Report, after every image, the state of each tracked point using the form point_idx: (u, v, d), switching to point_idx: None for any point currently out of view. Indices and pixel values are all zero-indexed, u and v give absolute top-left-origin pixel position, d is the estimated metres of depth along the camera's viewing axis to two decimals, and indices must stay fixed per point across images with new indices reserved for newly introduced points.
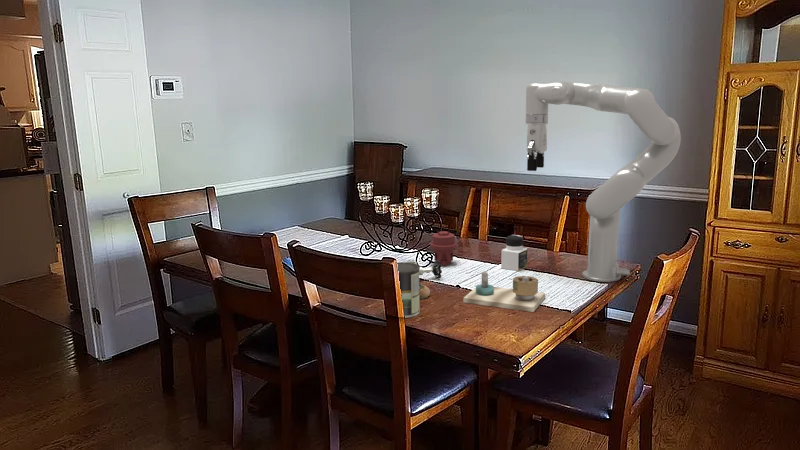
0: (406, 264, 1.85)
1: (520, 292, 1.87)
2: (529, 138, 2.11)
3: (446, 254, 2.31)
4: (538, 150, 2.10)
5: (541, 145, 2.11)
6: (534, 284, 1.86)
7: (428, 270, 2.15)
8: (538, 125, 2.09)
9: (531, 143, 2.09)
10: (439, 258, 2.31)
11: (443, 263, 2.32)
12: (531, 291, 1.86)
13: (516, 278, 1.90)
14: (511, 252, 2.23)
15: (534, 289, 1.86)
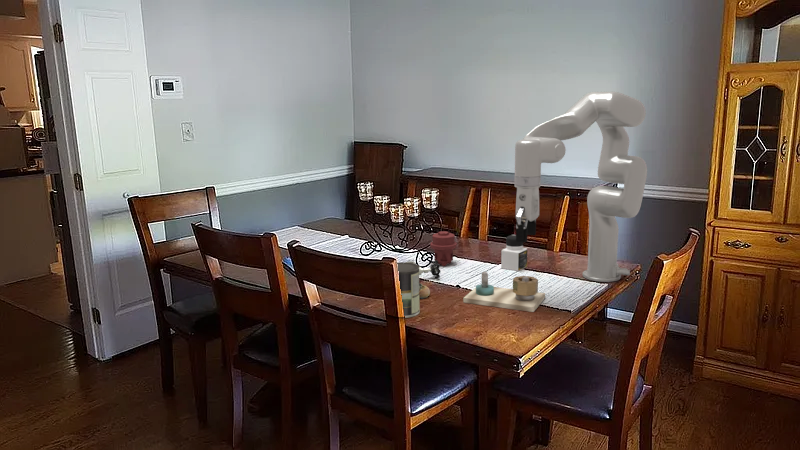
0: (406, 264, 1.85)
1: (520, 292, 1.87)
2: (518, 204, 1.80)
3: (446, 254, 2.31)
4: (529, 219, 1.79)
5: (532, 212, 1.80)
6: (534, 284, 1.86)
7: (426, 270, 2.15)
8: (529, 190, 1.78)
9: (520, 211, 1.78)
10: (439, 258, 2.31)
11: (443, 263, 2.32)
12: (531, 291, 1.86)
13: (516, 278, 1.90)
14: (511, 252, 2.23)
15: (534, 289, 1.86)
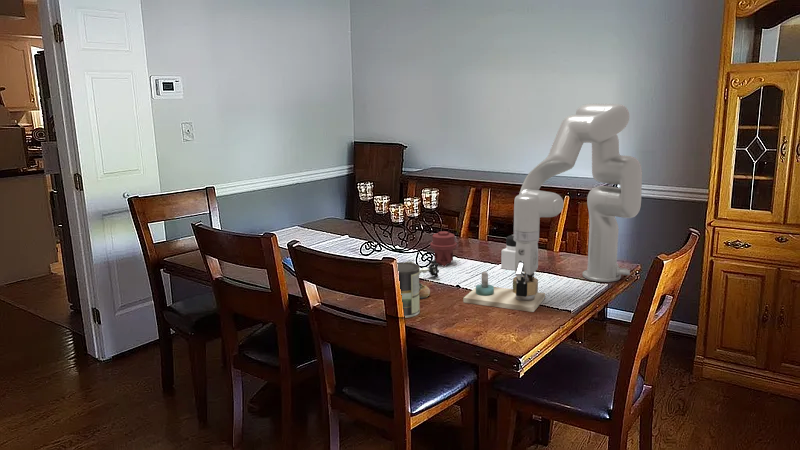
0: (406, 264, 1.85)
1: None
2: (517, 258, 1.83)
3: (446, 254, 2.31)
4: (528, 273, 1.83)
5: (531, 266, 1.83)
6: (534, 284, 1.86)
7: (425, 270, 2.15)
8: (528, 245, 1.82)
9: (520, 267, 1.82)
10: (439, 258, 2.31)
11: (443, 263, 2.32)
12: (531, 291, 1.86)
13: (516, 278, 1.90)
14: (511, 252, 2.23)
15: (534, 289, 1.86)
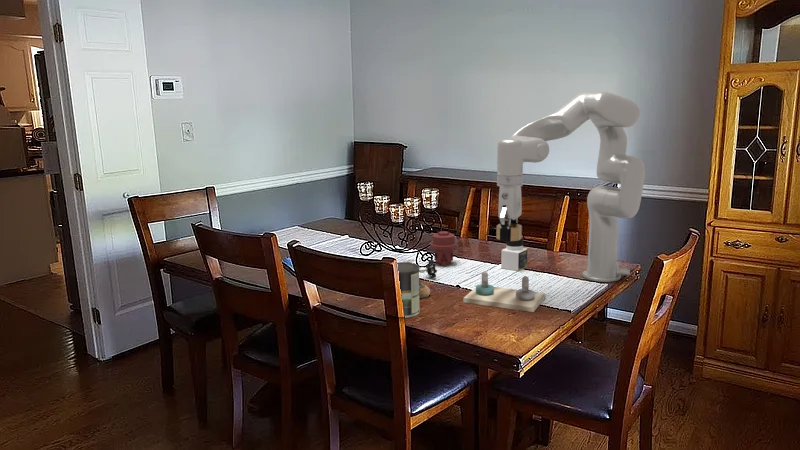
0: (406, 264, 1.85)
1: None
2: (501, 203, 1.82)
3: (446, 254, 2.31)
4: (511, 217, 1.82)
5: (515, 211, 1.82)
6: (518, 229, 1.85)
7: (423, 270, 2.16)
8: (511, 188, 1.80)
9: (503, 211, 1.81)
10: (439, 258, 2.31)
11: (443, 263, 2.32)
12: (515, 236, 1.85)
13: None
14: (511, 252, 2.23)
15: (518, 234, 1.85)
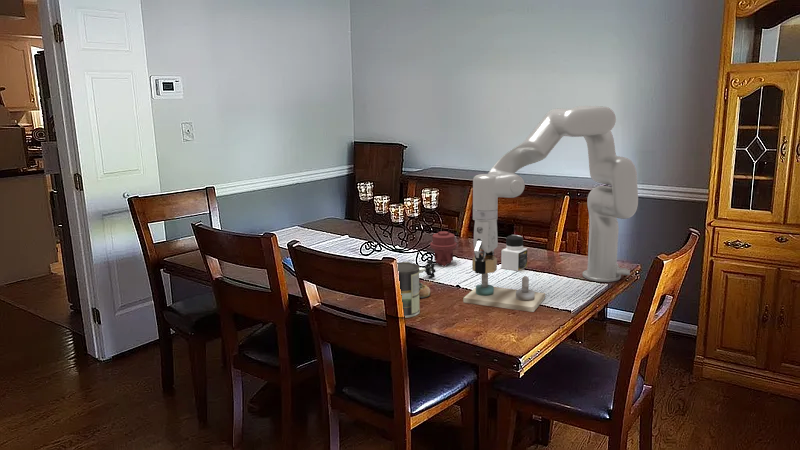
0: (406, 264, 1.85)
1: None
2: (476, 236, 1.88)
3: (446, 254, 2.31)
4: (486, 250, 1.87)
5: (489, 244, 1.88)
6: (492, 262, 1.90)
7: (421, 270, 2.16)
8: (485, 223, 1.86)
9: (478, 245, 1.87)
10: (439, 258, 2.31)
11: (443, 263, 2.32)
12: (489, 269, 1.91)
13: None
14: (511, 252, 2.23)
15: (492, 267, 1.91)
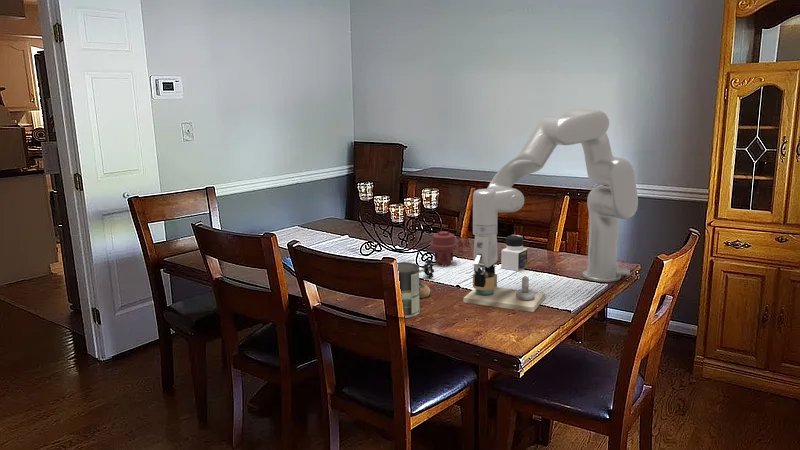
0: (406, 264, 1.85)
1: (479, 287, 1.92)
2: (476, 251, 1.89)
3: (446, 254, 2.31)
4: (486, 265, 1.88)
5: (489, 259, 1.89)
6: (493, 279, 1.92)
7: (420, 270, 2.16)
8: (485, 238, 1.87)
9: (478, 258, 1.87)
10: (439, 258, 2.31)
11: (443, 263, 2.32)
12: (490, 286, 1.92)
13: None
14: (511, 252, 2.23)
15: (493, 284, 1.92)
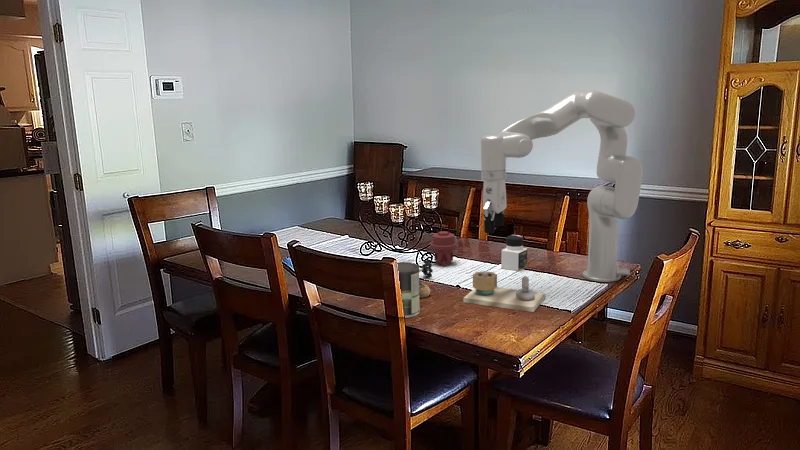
0: (406, 264, 1.85)
1: (479, 287, 1.92)
2: (485, 197, 1.88)
3: (446, 254, 2.31)
4: (495, 211, 1.88)
5: (499, 205, 1.88)
6: (493, 279, 1.92)
7: (419, 270, 2.16)
8: (494, 183, 1.87)
9: (487, 203, 1.87)
10: (439, 258, 2.31)
11: (443, 263, 2.32)
12: (490, 286, 1.92)
13: (476, 273, 1.96)
14: (511, 252, 2.23)
15: (493, 284, 1.92)
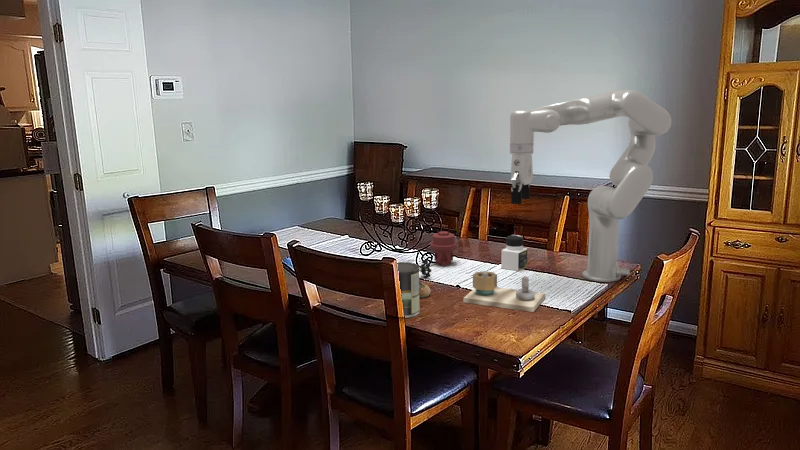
0: (406, 264, 1.85)
1: (479, 287, 1.92)
2: (513, 169, 1.97)
3: (446, 254, 2.31)
4: (523, 182, 1.96)
5: (526, 177, 1.97)
6: (493, 279, 1.92)
7: None
8: (523, 155, 1.95)
9: (515, 175, 1.95)
10: (439, 258, 2.31)
11: (443, 263, 2.32)
12: (490, 286, 1.92)
13: (476, 273, 1.96)
14: (511, 252, 2.23)
15: (493, 284, 1.92)
